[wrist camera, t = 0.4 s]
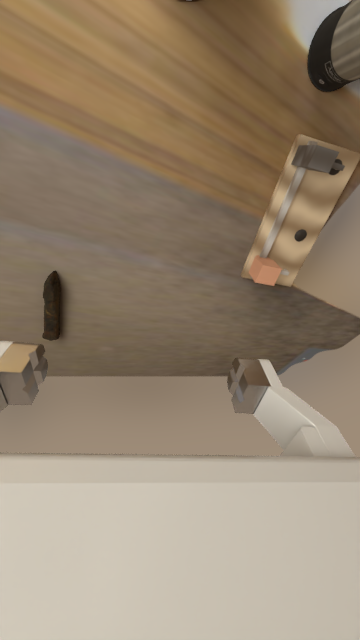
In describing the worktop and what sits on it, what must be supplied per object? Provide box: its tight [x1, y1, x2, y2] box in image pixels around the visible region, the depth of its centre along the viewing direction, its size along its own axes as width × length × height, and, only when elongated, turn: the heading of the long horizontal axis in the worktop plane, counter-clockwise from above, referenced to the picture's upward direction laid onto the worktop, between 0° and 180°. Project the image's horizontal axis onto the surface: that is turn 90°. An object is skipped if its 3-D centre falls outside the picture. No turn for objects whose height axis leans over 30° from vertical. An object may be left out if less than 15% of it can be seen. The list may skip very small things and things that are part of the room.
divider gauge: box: [241, 134, 360, 287], centre depth 50 cm, size 28×13×8 cm, turn 167°
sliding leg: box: [248, 255, 290, 286], centre depth 54 cm, size 4×9×6 cm, turn 77°
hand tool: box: [42, 271, 60, 340], centre depth 60 cm, size 19×4×5 cm, turn 160°
